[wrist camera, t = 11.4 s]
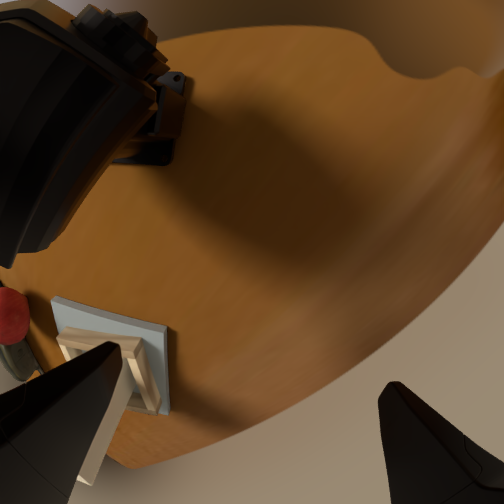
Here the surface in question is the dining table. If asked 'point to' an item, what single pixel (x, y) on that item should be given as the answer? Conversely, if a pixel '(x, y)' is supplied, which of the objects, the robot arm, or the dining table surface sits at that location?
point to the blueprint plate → (122, 325)
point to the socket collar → (131, 349)
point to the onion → (13, 316)
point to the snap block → (108, 425)
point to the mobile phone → (19, 359)
